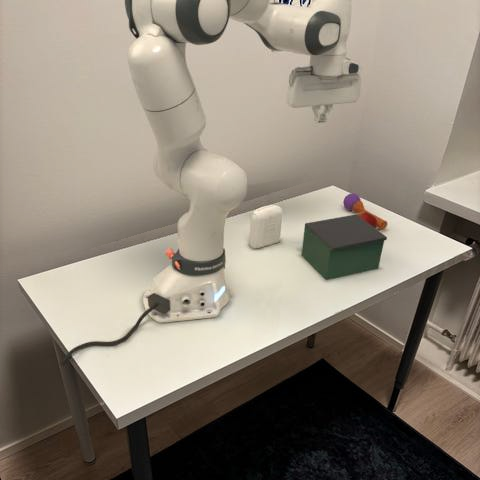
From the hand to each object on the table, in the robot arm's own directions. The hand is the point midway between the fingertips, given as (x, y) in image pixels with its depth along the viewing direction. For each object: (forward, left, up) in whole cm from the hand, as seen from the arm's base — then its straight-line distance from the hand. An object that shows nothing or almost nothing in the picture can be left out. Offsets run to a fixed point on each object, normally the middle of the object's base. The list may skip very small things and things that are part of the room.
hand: (320, 122), depth 135 cm
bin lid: (+4, -13, -27) cm, 31 cm away
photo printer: (-12, +5, -37) cm, 40 cm away
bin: (+4, -13, -37) cm, 39 cm away
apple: (+20, -1, -37) cm, 42 cm away
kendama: (+28, +10, -37) cm, 47 cm away
